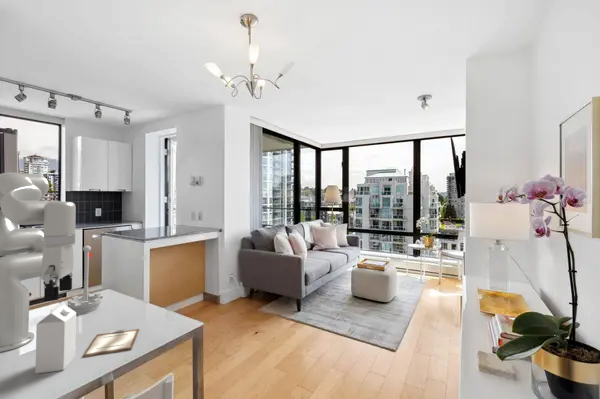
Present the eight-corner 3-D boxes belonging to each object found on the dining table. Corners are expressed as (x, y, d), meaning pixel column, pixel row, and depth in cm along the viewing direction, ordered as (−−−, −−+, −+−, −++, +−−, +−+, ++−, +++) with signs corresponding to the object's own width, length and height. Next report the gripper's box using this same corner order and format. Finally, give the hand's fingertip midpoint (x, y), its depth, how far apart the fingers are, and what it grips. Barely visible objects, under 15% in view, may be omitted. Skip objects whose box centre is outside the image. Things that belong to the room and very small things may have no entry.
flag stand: (94, 313, 124) (96, 247, 124) (60, 315, 121) (62, 248, 121) (107, 303, 136) (109, 243, 136) (77, 304, 133) (78, 243, 133)
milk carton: (34, 374, 81) (36, 310, 81) (49, 360, 88) (50, 302, 88) (63, 370, 83) (65, 308, 83) (75, 357, 90) (76, 300, 90)
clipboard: (82, 357, 90) (82, 353, 90) (97, 336, 104) (97, 332, 104) (131, 349, 95) (131, 346, 95) (139, 330, 109) (139, 327, 109)
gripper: (57, 237, 92) (56, 288, 92) (29, 245, 76) (28, 306, 76) (84, 236, 95) (83, 285, 95) (62, 244, 79) (61, 303, 79)
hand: (58, 295), depth 85 cm, fingers open, 9 cm apart
